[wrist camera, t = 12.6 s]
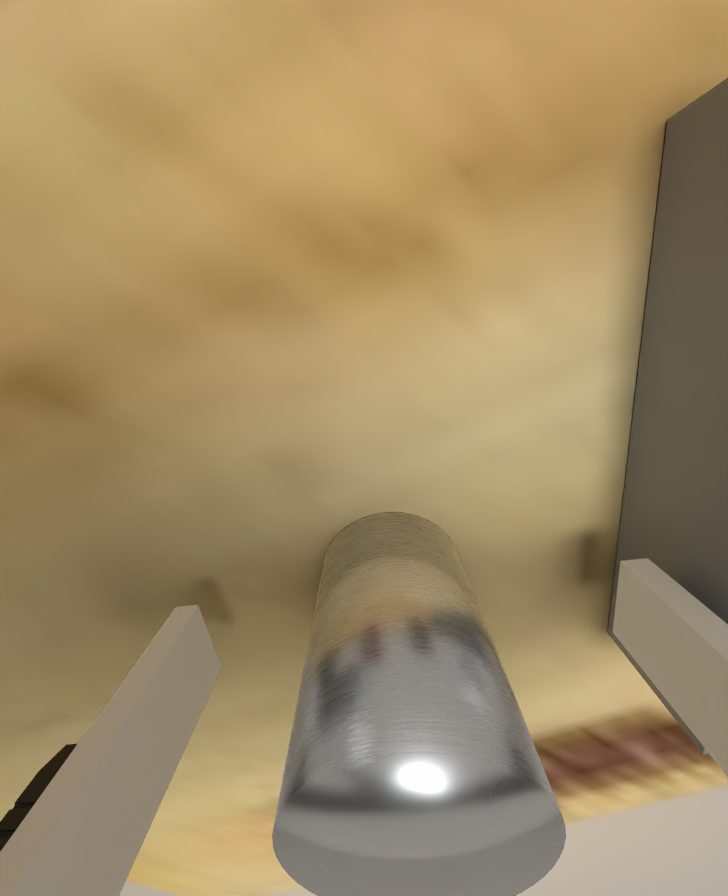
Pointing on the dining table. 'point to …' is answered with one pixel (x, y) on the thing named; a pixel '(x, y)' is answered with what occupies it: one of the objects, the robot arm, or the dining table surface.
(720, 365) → the scale
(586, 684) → the dining table surface
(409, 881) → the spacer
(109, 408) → the dining table surface
